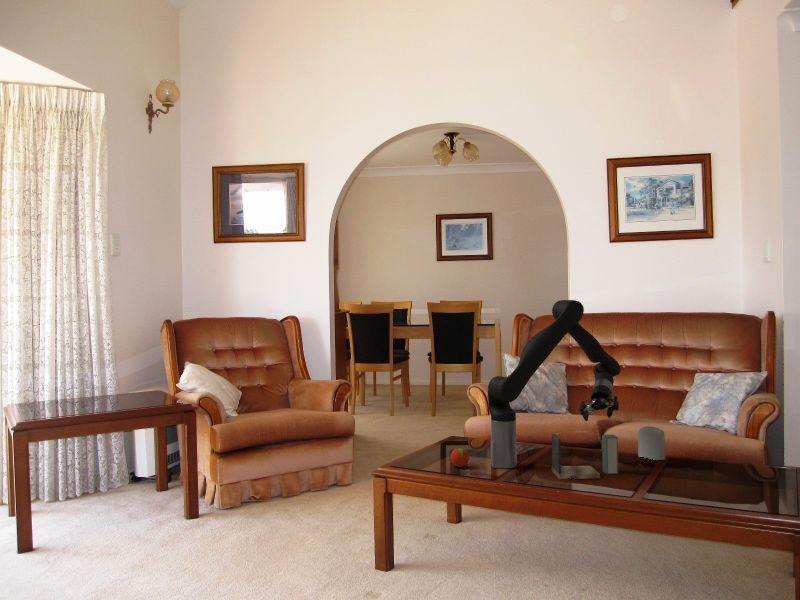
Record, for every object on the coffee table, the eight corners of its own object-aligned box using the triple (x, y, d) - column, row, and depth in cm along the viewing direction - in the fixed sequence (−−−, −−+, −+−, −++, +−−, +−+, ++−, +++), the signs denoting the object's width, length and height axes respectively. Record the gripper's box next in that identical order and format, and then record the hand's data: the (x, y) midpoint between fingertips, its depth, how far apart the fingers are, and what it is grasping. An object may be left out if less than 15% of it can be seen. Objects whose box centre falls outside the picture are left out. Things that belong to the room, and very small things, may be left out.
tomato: (471, 469, 255) (471, 449, 255) (453, 470, 253) (453, 450, 253) (466, 464, 262) (466, 445, 262) (448, 465, 261) (448, 446, 261)
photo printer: (636, 457, 269) (635, 425, 270) (642, 455, 272) (642, 424, 272) (660, 462, 262) (660, 429, 262) (666, 460, 264) (666, 427, 264)
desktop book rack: (559, 478, 239) (558, 439, 239) (551, 470, 251) (551, 433, 251) (600, 478, 239) (599, 439, 239) (590, 469, 251) (589, 432, 251)
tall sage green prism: (607, 474, 244) (606, 437, 244) (602, 470, 249) (602, 434, 249) (618, 474, 244) (617, 437, 244) (613, 470, 249) (613, 434, 249)
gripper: (581, 387, 271) (575, 412, 258) (617, 381, 264) (613, 406, 251) (587, 403, 273) (581, 428, 260) (623, 397, 266) (619, 423, 253)
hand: (597, 417), depth 255 cm, fingers open, 8 cm apart
